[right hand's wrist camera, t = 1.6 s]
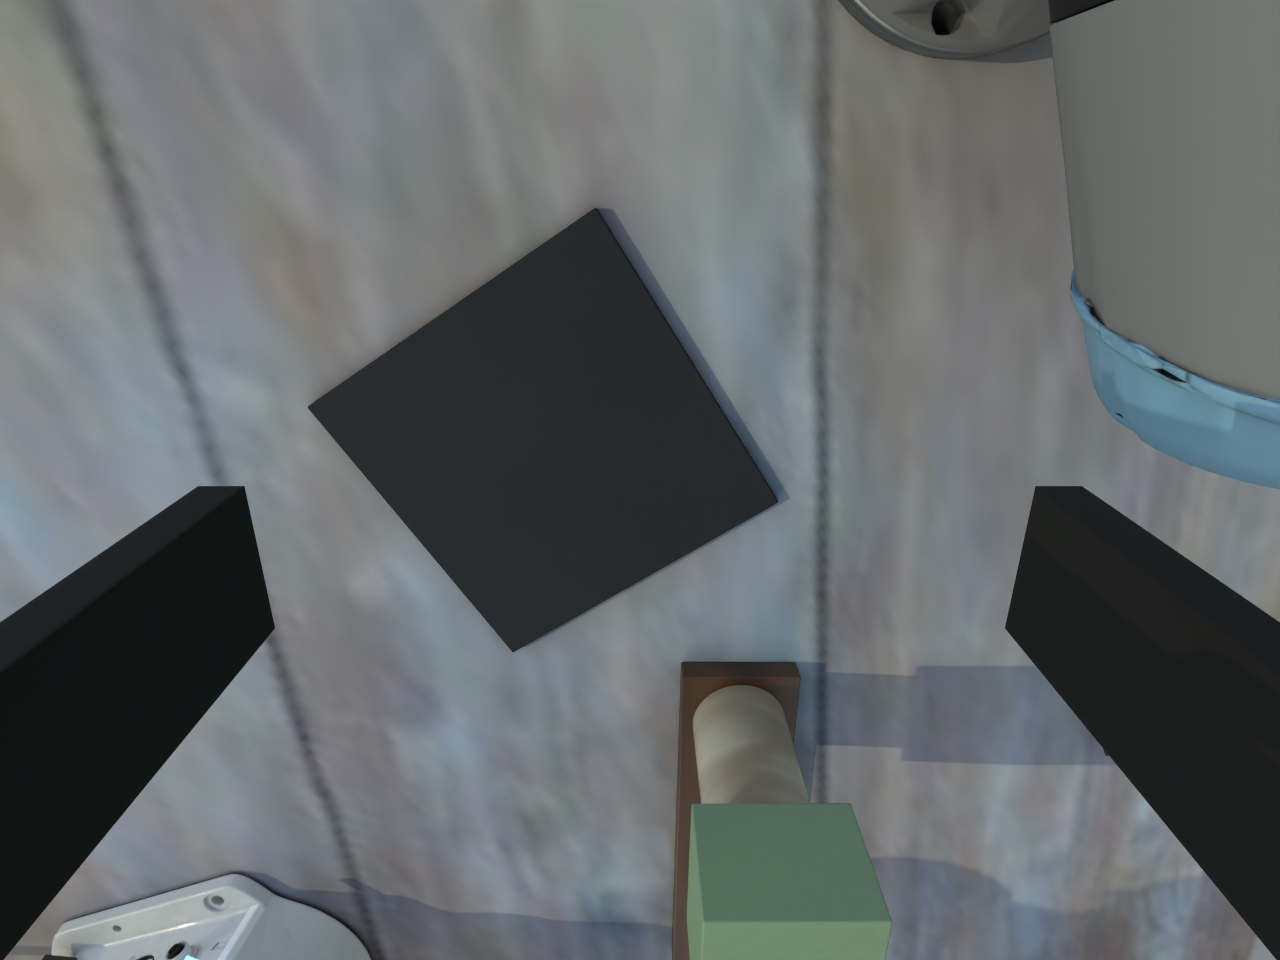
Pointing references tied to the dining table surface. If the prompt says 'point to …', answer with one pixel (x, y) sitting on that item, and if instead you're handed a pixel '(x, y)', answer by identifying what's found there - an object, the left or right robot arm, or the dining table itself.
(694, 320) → the dining table surface
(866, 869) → the sage green cube
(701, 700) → the caddy
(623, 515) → the slate mat
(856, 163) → the dining table surface
